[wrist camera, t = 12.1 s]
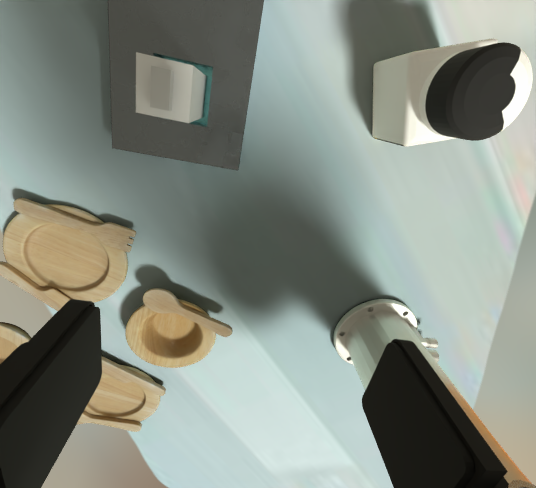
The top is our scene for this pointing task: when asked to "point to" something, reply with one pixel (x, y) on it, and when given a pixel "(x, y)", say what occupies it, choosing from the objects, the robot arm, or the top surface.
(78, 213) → the tableware set
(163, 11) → the panel
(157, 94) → the plug
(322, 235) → the top surface
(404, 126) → the medicine bottle
